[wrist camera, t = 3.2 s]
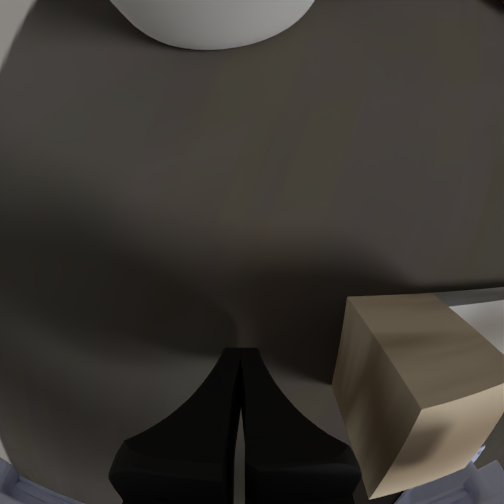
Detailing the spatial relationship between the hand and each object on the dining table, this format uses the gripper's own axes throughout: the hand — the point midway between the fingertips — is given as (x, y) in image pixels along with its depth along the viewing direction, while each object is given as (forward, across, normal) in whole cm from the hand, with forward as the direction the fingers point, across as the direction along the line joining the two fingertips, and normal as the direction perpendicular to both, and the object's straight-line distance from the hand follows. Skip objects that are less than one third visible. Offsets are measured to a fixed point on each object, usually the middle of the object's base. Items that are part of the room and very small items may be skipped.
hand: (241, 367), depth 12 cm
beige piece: (+1, -14, 0) cm, 14 cm away
